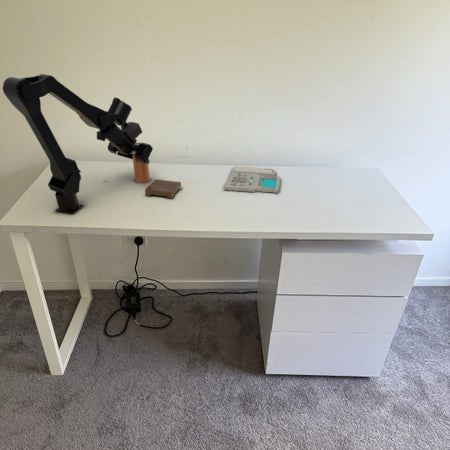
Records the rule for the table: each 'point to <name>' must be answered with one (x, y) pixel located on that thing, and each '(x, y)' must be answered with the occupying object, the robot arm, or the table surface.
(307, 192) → the table surface
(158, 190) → the stand
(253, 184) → the office telephone
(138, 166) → the vase
